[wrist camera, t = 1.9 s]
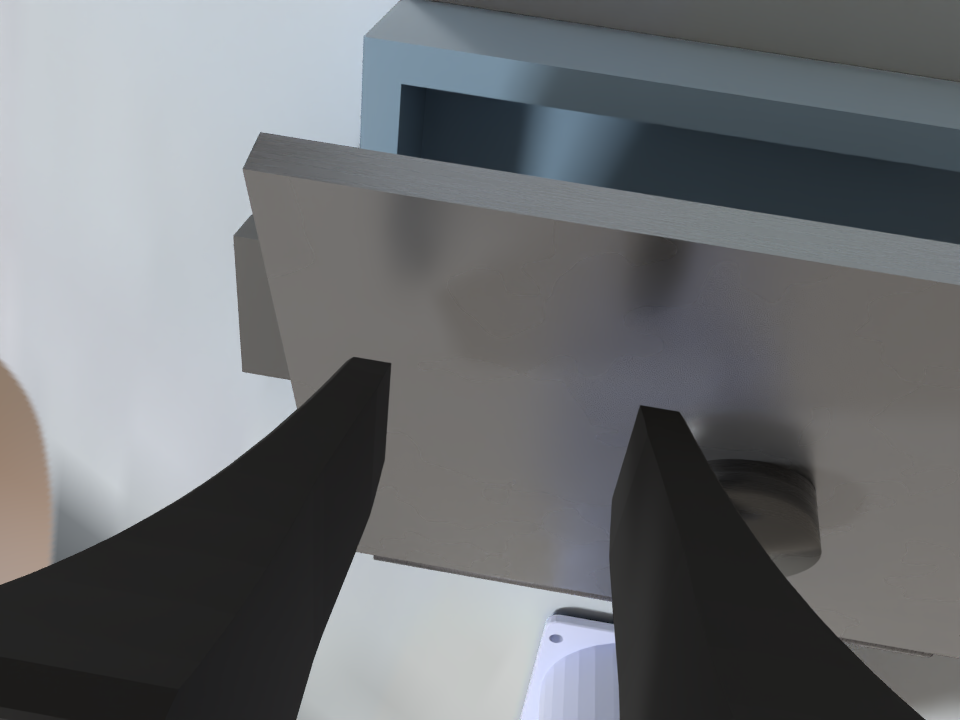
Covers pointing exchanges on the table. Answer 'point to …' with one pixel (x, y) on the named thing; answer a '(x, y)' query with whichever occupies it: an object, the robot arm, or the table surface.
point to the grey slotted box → (643, 127)
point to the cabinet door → (628, 373)
